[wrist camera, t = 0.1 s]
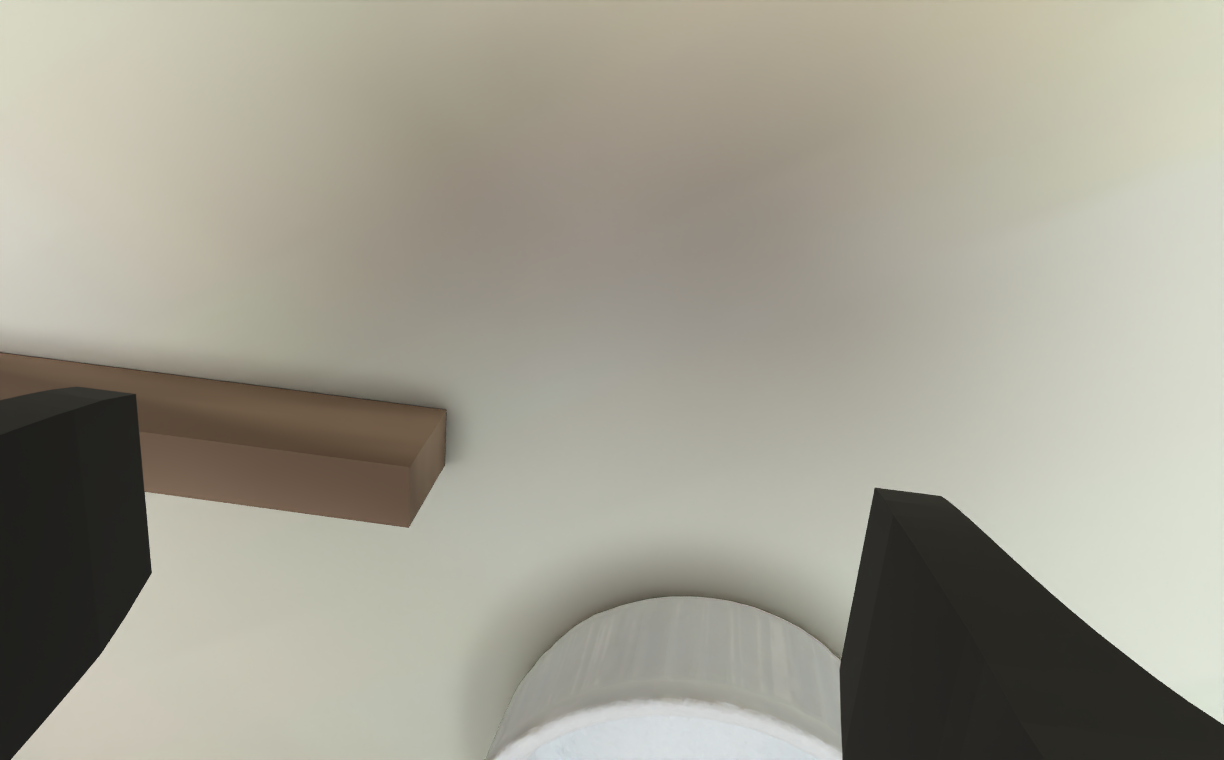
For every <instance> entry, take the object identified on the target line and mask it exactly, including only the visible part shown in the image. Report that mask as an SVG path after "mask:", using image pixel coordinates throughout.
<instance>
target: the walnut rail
mask: <svg viewBox="0 0 1224 760" xmlns="http://www.w3.org/2000/svg"><path fill="white" fill-rule="evenodd" d="M69 387H85V388H93V389H101V390H109V391H117V392H124V393H132V394H136V401H137V412H138V423H139V435H140V446H141V457H142V469H143V480H144V492H151V493H159V494H166V495H173V496H181V497H188V498H195V499H203V500H210V501H217V502H225V503H232V504H239V505H247V506H254V507H261V508H268V509H276V510H283V511H290V512H298V513H305V514H312V515H320V516H327V517H334V518H342V519H349V520H356V521H364V522H371V523H378V524H386V525H393V526H400V527H408V528H409V526H410V524H411V523H412V521H413V519H414V518H415V516H416V514H417V512H418V511H419V509H420V507H421V505H422V504H423V502H424V500H425V499H426V497H427V495H428V493H429V492H430V490H431V488H432V486H433V485H434V483H435V481H436V479H437V478H438V476H439V474H440V473H441V471H442V469H443V467H444V466H445V442H446V410H443V409H435V408H427V407H419V406H411V405H404V404H396V403H388V402H380V401H372V400H365V399H357V398H349V397H341V396H333V395H326V394H318V393H310V392H302V391H294V390H286V389H279V388H271V387H263V386H255V385H247V384H240V383H232V382H224V381H216V380H208V379H201V378H193V377H185V376H177V375H169V374H161V373H154V372H146V371H138V370H130V369H122V368H115V367H107V366H99V365H91V364H83V363H76V362H68V361H60V360H52V359H44V358H36V357H29V356H21V355H13V354H5V353H0V400H3V399H8V398H12V397H17V396H21V395H26V394H31V393H35V392H41V391H46V390H52V389H60V388H69Z"/></svg>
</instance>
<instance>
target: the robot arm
mask: <svg viewBox="0 0 1224 760" xmlns="http://www.w3.org/2000/svg"><path fill="white" fill-rule="evenodd" d="M151 573H152V571H151V560H150V548H149V537H148V526H147V514H146V503H145V492H144V480H143V469H142V457H141V446H140V435H139V423H138V412H137V401H136V394H132V393H124V392H117V391H109V390H101V389H93V388H85V387H69V388H60V389H52V390H46V391H41V392H35V393H31V394H26V395H21V396H17V397H12V398H8V399H3V400H0V760H11V759H12V758H13V756H14V755H15V754H16V753H17V752H18V751H19V749H20V748H21V747H22V746H23V745H24V744H25V743H26V741H27V740H28V739H29V738H30V737H31V736H32V735H33V733H34V732H35V731H36V730H37V729H38V728H39V727H40V725H41V724H42V723H43V722H44V721H45V720H46V718H47V717H48V716H49V715H50V714H51V713H52V711H53V710H54V709H55V708H56V707H57V706H58V704H59V703H60V702H61V701H62V700H63V698H64V697H65V696H66V695H67V694H68V693H69V691H70V690H71V689H72V688H73V687H74V686H75V684H76V683H77V682H78V681H79V680H80V678H81V677H82V676H83V675H84V674H85V673H86V671H87V670H88V669H89V668H90V666H91V665H92V664H93V663H94V662H95V660H96V659H97V658H98V657H99V655H100V654H101V653H102V651H103V650H104V648H105V647H106V645H107V644H108V642H109V641H110V639H111V638H112V636H113V635H114V633H115V632H116V630H117V629H118V627H119V626H120V624H121V623H122V621H123V620H124V618H125V617H126V615H127V613H128V612H129V610H130V608H131V607H132V605H133V603H134V602H135V600H136V598H137V597H138V595H139V593H140V592H141V590H142V588H143V587H144V585H145V583H146V582H147V580H148V578H149V577H150V575H151ZM839 672H840V710H841V737H842V760H1224V725H1223V724H1221V723H1220V722H1218V721H1217V720H1215V719H1214V718H1212V717H1211V716H1209V715H1208V714H1206V713H1205V712H1203V711H1202V710H1200V709H1199V708H1197V707H1196V706H1194V705H1193V704H1191V703H1190V702H1188V701H1187V700H1185V699H1184V698H1183V697H1181V696H1180V695H1179V694H1177V693H1176V692H1174V691H1173V690H1172V689H1170V688H1169V687H1167V686H1166V685H1165V684H1163V683H1162V682H1160V681H1159V680H1158V679H1156V678H1155V677H1154V676H1152V675H1151V674H1150V673H1148V672H1147V671H1146V670H1145V669H1143V668H1142V667H1141V666H1139V665H1138V664H1137V663H1136V662H1134V661H1133V660H1132V659H1130V658H1129V657H1128V656H1127V655H1125V654H1124V653H1123V652H1121V651H1120V650H1119V649H1118V648H1116V647H1115V646H1114V645H1113V644H1111V643H1110V642H1109V641H1107V640H1106V639H1105V638H1104V637H1102V636H1101V635H1100V634H1098V633H1097V632H1096V631H1095V630H1094V629H1092V628H1091V627H1090V626H1089V625H1088V624H1086V623H1085V622H1084V621H1083V620H1082V619H1080V618H1079V617H1078V616H1077V615H1076V614H1074V613H1073V612H1072V611H1071V610H1070V609H1069V608H1067V607H1066V606H1065V605H1064V604H1063V603H1062V602H1060V601H1059V600H1058V599H1057V598H1056V597H1055V596H1054V595H1052V594H1051V593H1050V592H1049V591H1048V590H1047V589H1046V588H1044V587H1043V586H1042V585H1041V584H1040V583H1039V582H1038V581H1037V580H1035V579H1034V578H1033V577H1032V576H1031V575H1030V574H1029V573H1028V572H1027V571H1026V570H1024V569H1023V568H1022V567H1021V566H1020V565H1019V564H1018V563H1017V562H1016V561H1014V560H1013V559H1012V558H1011V557H1010V556H1009V555H1008V554H1007V553H1006V552H1005V551H1004V550H1003V549H1001V548H1000V547H999V546H998V545H997V544H996V543H995V542H994V541H993V540H992V539H991V538H990V537H988V536H987V535H986V534H985V533H984V532H983V531H982V530H981V529H980V528H979V527H978V526H976V525H975V524H974V523H973V522H972V521H971V520H970V519H969V518H968V517H967V516H965V515H964V514H963V513H962V512H961V511H960V510H959V509H957V508H956V507H955V506H954V505H952V504H951V503H950V502H949V501H947V500H946V499H945V498H943V497H942V496H936V495H928V494H920V493H912V492H904V491H896V490H888V489H881V488H875V489H874V495H873V500H872V505H871V510H870V515H869V520H868V525H867V530H866V536H865V541H864V546H863V551H862V556H861V561H860V566H859V571H858V577H857V582H856V587H855V592H854V597H853V602H852V607H851V612H850V618H849V623H848V628H847V633H846V638H845V643H844V648H843V653H842V659H841V664H840V669H839Z"/></svg>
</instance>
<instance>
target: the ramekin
mask: <svg viewBox="0 0 1224 760" xmlns="http://www.w3.org/2000/svg"><path fill="white" fill-rule="evenodd" d="M840 664H841V660H840V659H839V658H837V657H836V656H835V655H834V654H833V653H831V652H830V650H829V649H828V648H827V647H826V646H825V645H824V644H823V643H821V642H820V641H818V640H817V639H816V638H814V637H813V636H811V635H810V634H809V633H807V632H806V631H804V630H803V629H801V628H799V627H798V626H796V625H794V624H792V623H790V622H788V621H786V620H784V619H782V618H780V617H778V616H775V615H773V614H770V613H768V612H766V611H763V610H761V609H758V608H756V607H753V606H748V605H745V604H740V603H737V602H733V601H728V600H722V599H714V598H705V597H695V596H669V597H660V598H651V599H645V600H641V601H636V602H632V603H629V604H625V605H621V606H618V607H615V608H612V609H610V610H607V611H604V612H601V613H598V614H595V615H593V616H592V617H590V618H588V619H586V620H584V621H582V622H581V623H579V624H578V625H576V626H575V627H573V628H572V629H571V630H570V631H568V632H567V633H566V634H565V635H564V636H562V637H561V638H560V639H559V640H558V641H557V642H556V643H555V644H554V645H553V646H552V647H551V648H550V649H549V650H548V651H546V652H545V653H544V654H543V655H542V656H541V657H540V658H539V660H538V661H537V662H536V664H535V665H534V667H533V668H532V669H531V670H530V672H529V673H528V674H527V675H526V676H525V677H524V678H523V680H522V681H521V683H520V684H519V686H518V687H517V689H516V691H515V693H514V695H513V697H512V699H511V702H510V704H509V706H508V708H507V710H506V712H505V715H504V717H503V719H502V721H501V724H500V726H499V728H498V731H497V733H496V735H495V738H494V740H493V743H492V745H491V748H490V750H489V752H488V755H487V757H486V758H485V760H842V737H841V710H840V672H839V669H840Z"/></svg>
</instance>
